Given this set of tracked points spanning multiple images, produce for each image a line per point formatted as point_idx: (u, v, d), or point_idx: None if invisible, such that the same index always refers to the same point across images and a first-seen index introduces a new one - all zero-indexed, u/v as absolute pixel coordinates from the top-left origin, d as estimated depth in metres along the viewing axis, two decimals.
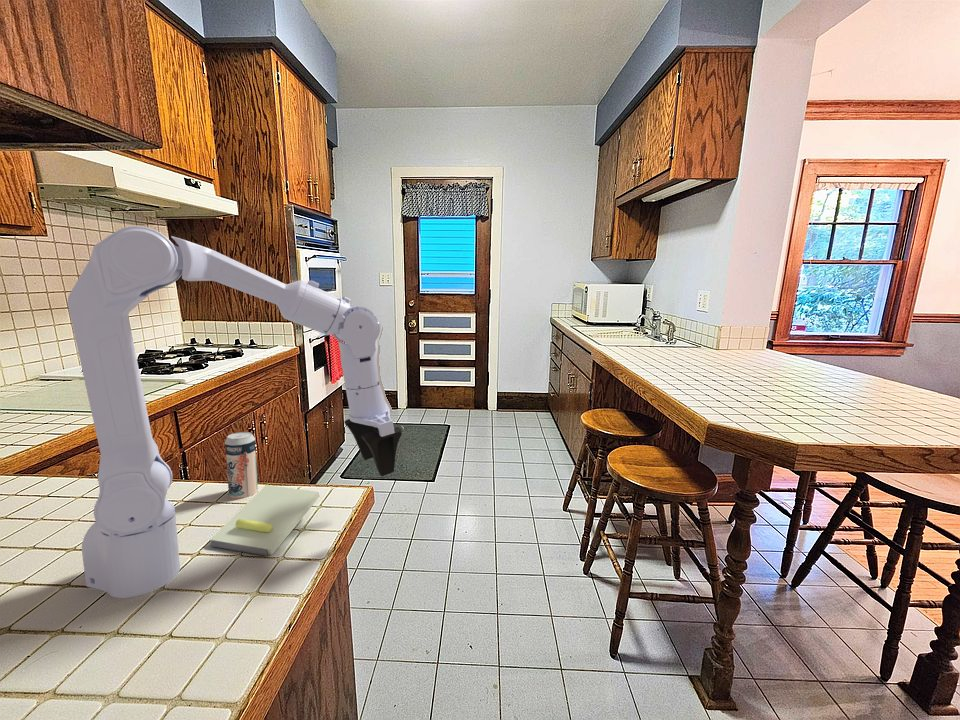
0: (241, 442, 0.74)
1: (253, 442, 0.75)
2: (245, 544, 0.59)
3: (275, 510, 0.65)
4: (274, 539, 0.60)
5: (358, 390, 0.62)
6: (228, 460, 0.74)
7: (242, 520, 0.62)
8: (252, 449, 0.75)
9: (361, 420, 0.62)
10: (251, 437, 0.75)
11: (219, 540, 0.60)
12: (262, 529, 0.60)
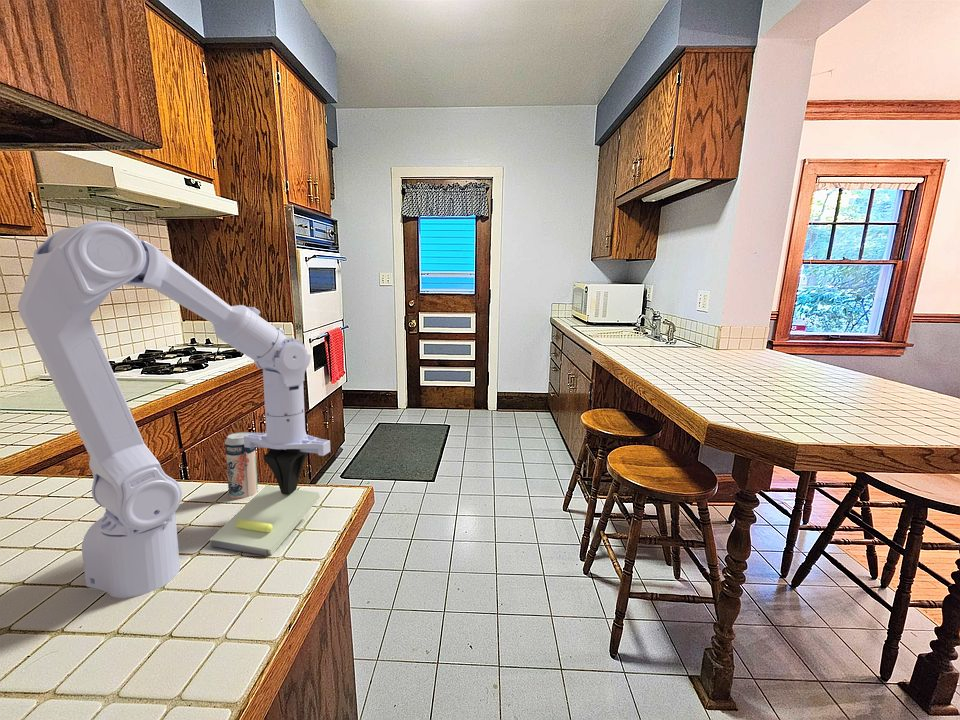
0: (241, 442, 0.74)
1: None
2: (245, 544, 0.59)
3: (275, 510, 0.65)
4: (274, 539, 0.60)
5: (290, 416, 0.65)
6: (228, 460, 0.74)
7: (242, 520, 0.62)
8: (252, 449, 0.75)
9: (293, 445, 0.65)
10: None
11: (219, 540, 0.60)
12: (262, 529, 0.60)
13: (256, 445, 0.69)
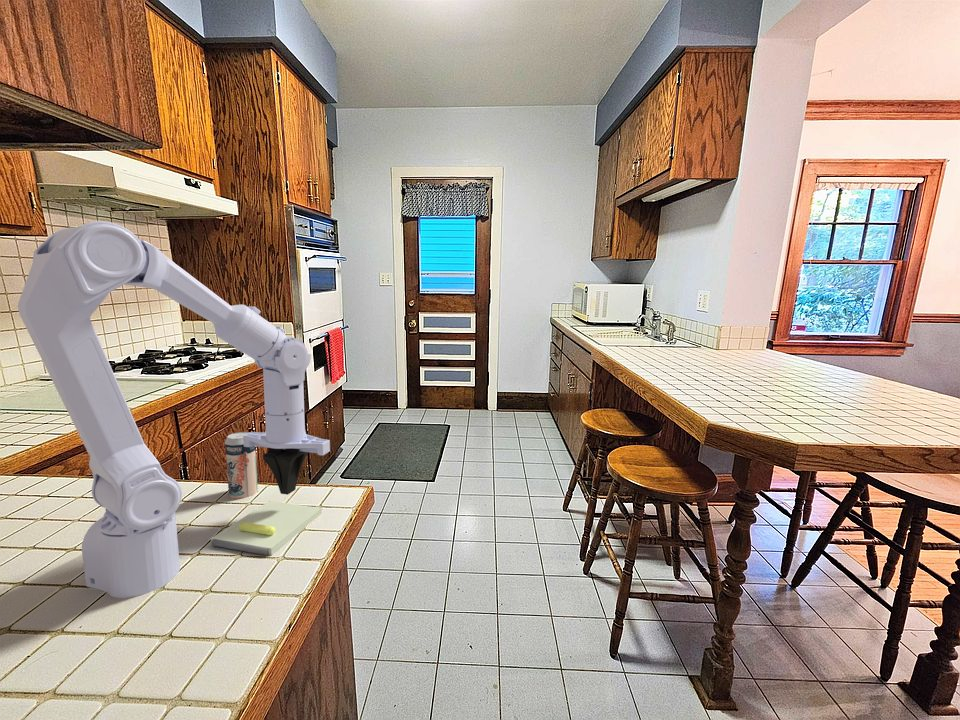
0: (241, 442, 0.74)
1: None
2: (246, 543, 0.59)
3: (278, 519, 0.66)
4: (276, 541, 0.60)
5: (290, 416, 0.65)
6: (228, 460, 0.74)
7: (246, 522, 0.62)
8: (252, 449, 0.75)
9: (292, 444, 0.65)
10: None
11: (221, 539, 0.60)
12: (265, 531, 0.61)
13: (255, 444, 0.69)
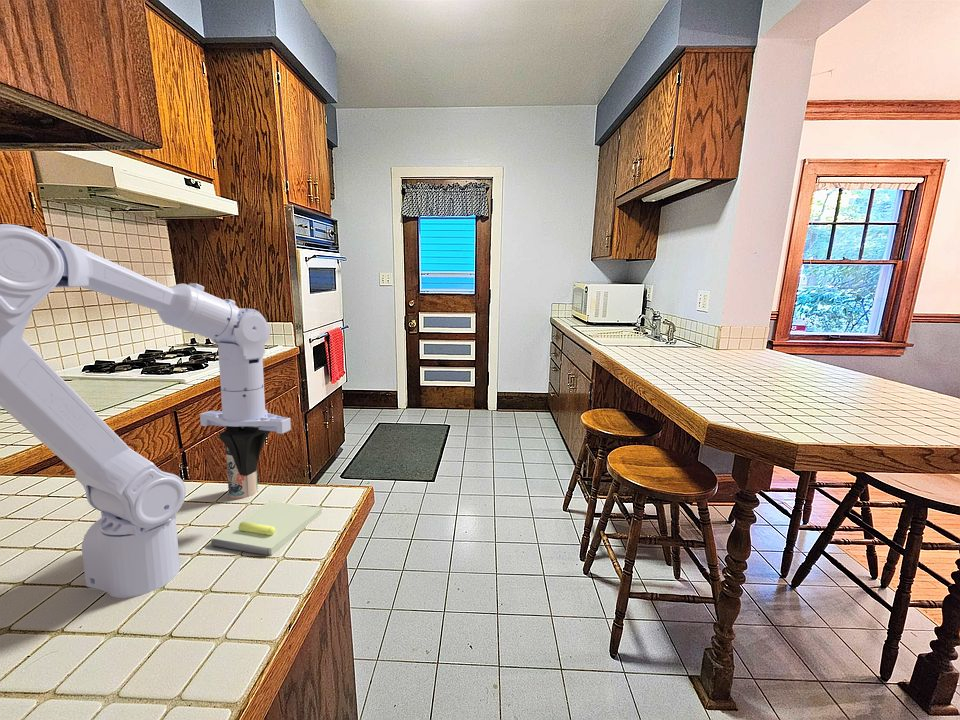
0: None
1: None
2: (246, 543, 0.59)
3: (278, 519, 0.66)
4: (276, 541, 0.60)
5: (247, 392, 0.61)
6: (228, 460, 0.74)
7: (246, 522, 0.62)
8: None
9: (249, 422, 0.61)
10: None
11: (221, 539, 0.60)
12: (265, 531, 0.61)
13: (213, 423, 0.65)
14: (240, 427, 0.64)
